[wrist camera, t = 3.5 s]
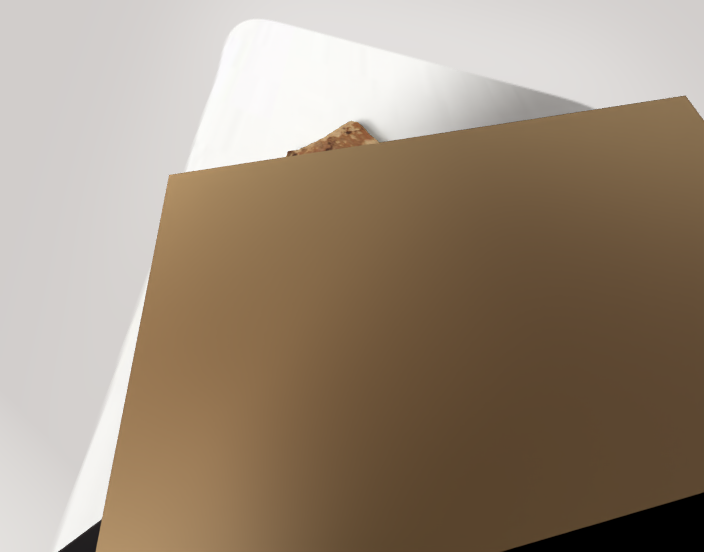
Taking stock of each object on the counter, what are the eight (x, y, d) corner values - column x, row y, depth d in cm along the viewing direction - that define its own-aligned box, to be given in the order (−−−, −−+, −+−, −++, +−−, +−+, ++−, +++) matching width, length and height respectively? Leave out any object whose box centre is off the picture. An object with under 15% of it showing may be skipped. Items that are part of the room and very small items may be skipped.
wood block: (492, 507, 13) (1513, 1231, 1) (355, 516, 13) (-14, 1114, 1) (462, 367, 15) (685, 94, 3) (345, 379, 15) (170, 175, 4)
